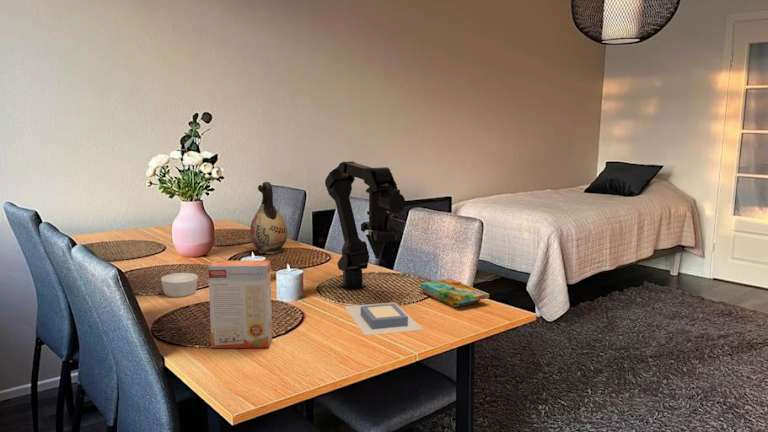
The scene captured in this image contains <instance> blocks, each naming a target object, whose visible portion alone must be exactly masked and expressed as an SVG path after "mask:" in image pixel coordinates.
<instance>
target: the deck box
mask: <svg viewBox="0 0 768 432" xmlns="http://www.w3.org/2000/svg"><path fill="white" fill-rule="evenodd" d="M361 316H362V317H363V318H364V319H365V321H366V322H367V323H368V324H369V326H370V327H371V328H372V329H379V328H389V327H400V326H408V317H407V316H406V315H405V314H404V313H403V312H402V311H401V310H400V309H399V308H398V307H397V306H396V305H395V304H385V305H373V306H361Z"/></svg>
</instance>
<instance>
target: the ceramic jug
mask: <svg viewBox="0 0 768 432" xmlns="http://www.w3.org/2000/svg"><path fill="white" fill-rule="evenodd" d="M257 189H258V192H260V193H261V194H262V201H261V203H260V206H259V208H258V209H257V211H256V212H255V215H254V217H253V219H252V221H251V224H250V229H249V237H250V241H251V243H252V244H253V245H254V247H255V248H256V249H257V251H258V253H259V252H261V253H266V254H265V255H275V254H278V253H281V252H282V248H283V247H284V245H285V244H286V242H287V239H288V233H289V232H288V228H287V224H286V222H285V220H284V218H283V216H282V215H281V214H280V212H279V210H278V209H277V207H276V206H275V205H274V202H273V199H274V196H273V195H274V192H273V186H272V184H271V183H270V182H269V181H264V182H262V184H259V185H258V187H257ZM261 253H260V254H261Z"/></svg>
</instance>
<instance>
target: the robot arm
mask: <svg viewBox="0 0 768 432" xmlns="http://www.w3.org/2000/svg"><path fill="white" fill-rule="evenodd" d="M356 178H357V179H360V180H362V181H363V183H364V184H365V185H367V186H368V188H366V190H365V193H367V194H368V210H366V214H367V215H368V221H363V222H362V223H361V224H360V231H361V232H363V233H364V232H366V231H368V233H367V234H365V237H366V238H367V241H368V243H367V242H366V241H365V240H364V241H362V239H360V237H359V233H358V228H357V224H356V220H355V216H354V212H353V208H352V202H351V198H350V196H351V194H352V190H353V184H354V182H355V180H356ZM324 184H325V185H324V186H325V188H326V190H327V193H328V195H329V197H331V198H332V200H334V202H335V205H336V210H337V215H338V219H339V224H340V228H341V233H342V237H343V241H344V243H343V246H342V248H341V257H340V258H339V259H338V261H337V269H338V270H339V271H342V274H343V275H342V283H341V284H339V285H338V286H339V287H341V288H343V289H345V290H349V291H354V290H359V289H362V288H363V289H364V288H366V284H363V270H367V269H368V265H369V260H370V254H369V253H370V252H369V250H368V246H367V245H368V244H369V245H370V247H371V250H372V252H373V255H374V258H375V259H377V260H380V258H381V255H382V251H383V248H384V245H385V243H386V242H395V241H397V236H398V235H397V232H395V231H396V230H397V231H399V232H401V233H403V232H404V229H405V227H406V225H407V222H406V221H404V220H402V219H399V216H398V215H397V214H399V213H402V212H403V211H404V210H405V207H406V202H407V201H406V199H405V196H403V194H401V190H400V189H398V186H397V185H398V184H397V182H396V180H395V179H394V176H393V173H392V172H391V169H390V168H389V167H387V166H385V167H384V166H383V167H371V166H368V165H364V164H360V163H356V161H342V162H339V164H338V166H337V167H335V168H334V169H333V170H331V171H329V173H328V175H327V177H326V178H325V181H324ZM390 212H391V213H392V214H391V213H390ZM392 229H394V230H395V231H394V230H392Z"/></svg>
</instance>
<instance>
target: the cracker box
mask: <svg viewBox="0 0 768 432" xmlns="http://www.w3.org/2000/svg"><path fill="white" fill-rule="evenodd" d="M207 269H208V270H207V271H208V292H209V293H208V295H209V296H208V297H209V298H208V299H209V318H210V319H209V321H210V342H211V343H210V344H211V348H212V349H249V348H250V349H253V348H254V349H259V348H260V349H268V348H269V347H270V345H271V343H272V341H273V320H272V319H273V317H272V316H273V315H272V314H273V313H272V309H273V308H272V280H271V279H272V278H271V277H272V275H271V260H214V261H212V262H211V263H210V264H209V265H208V268H207Z"/></svg>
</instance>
